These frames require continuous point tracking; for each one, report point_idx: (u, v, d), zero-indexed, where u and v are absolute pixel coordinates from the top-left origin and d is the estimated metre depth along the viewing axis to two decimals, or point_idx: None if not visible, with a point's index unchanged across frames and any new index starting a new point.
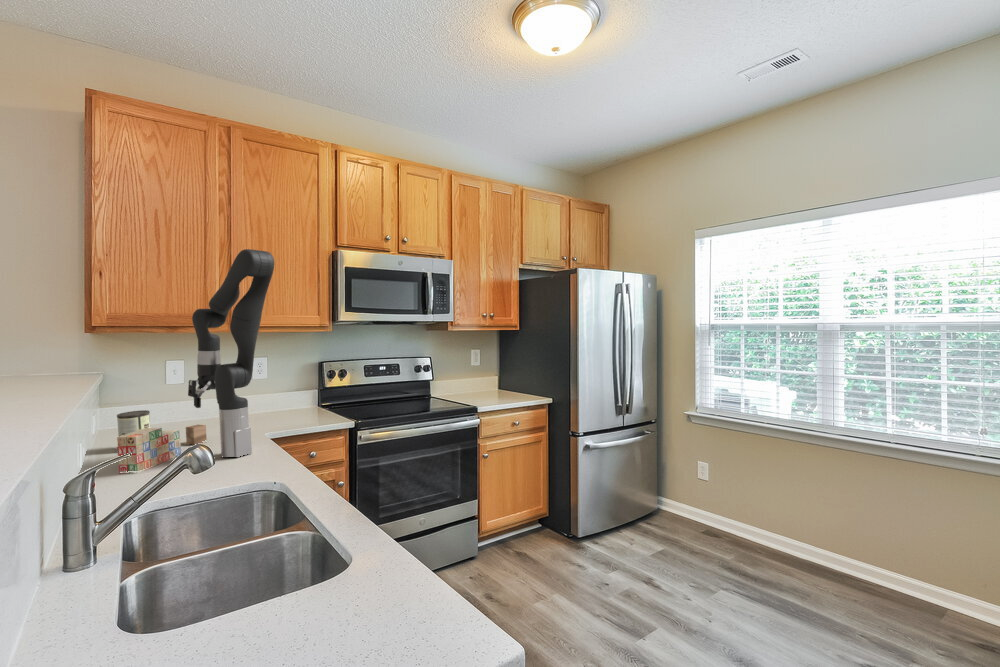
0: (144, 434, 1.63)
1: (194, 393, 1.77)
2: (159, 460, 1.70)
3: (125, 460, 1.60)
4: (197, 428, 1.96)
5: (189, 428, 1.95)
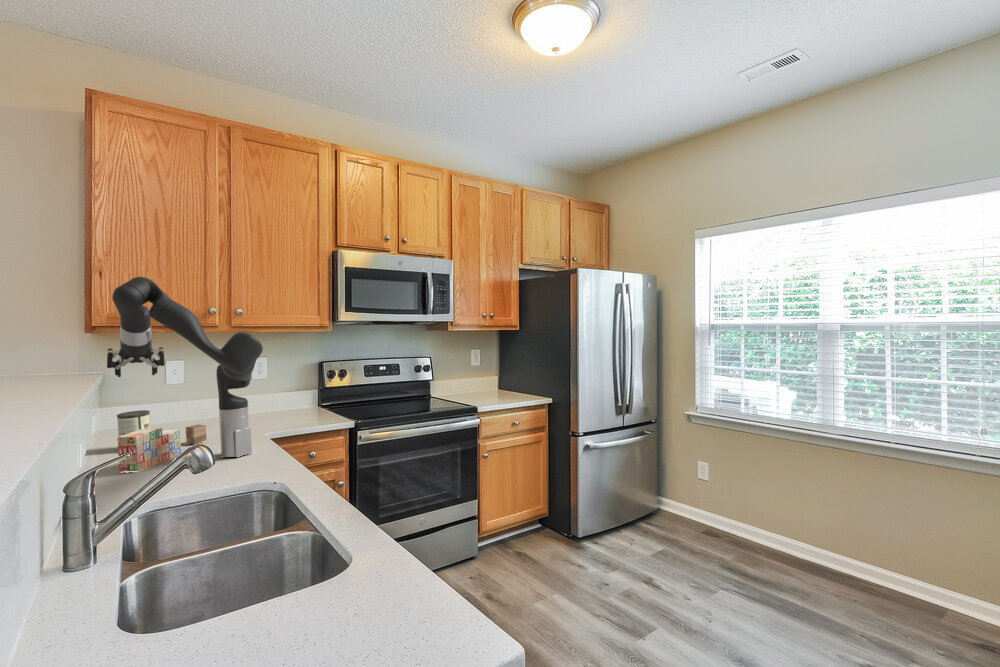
0: (144, 434, 1.64)
1: (110, 365, 1.47)
2: (159, 460, 1.70)
3: (125, 460, 1.60)
4: (197, 428, 1.96)
5: (189, 428, 1.95)
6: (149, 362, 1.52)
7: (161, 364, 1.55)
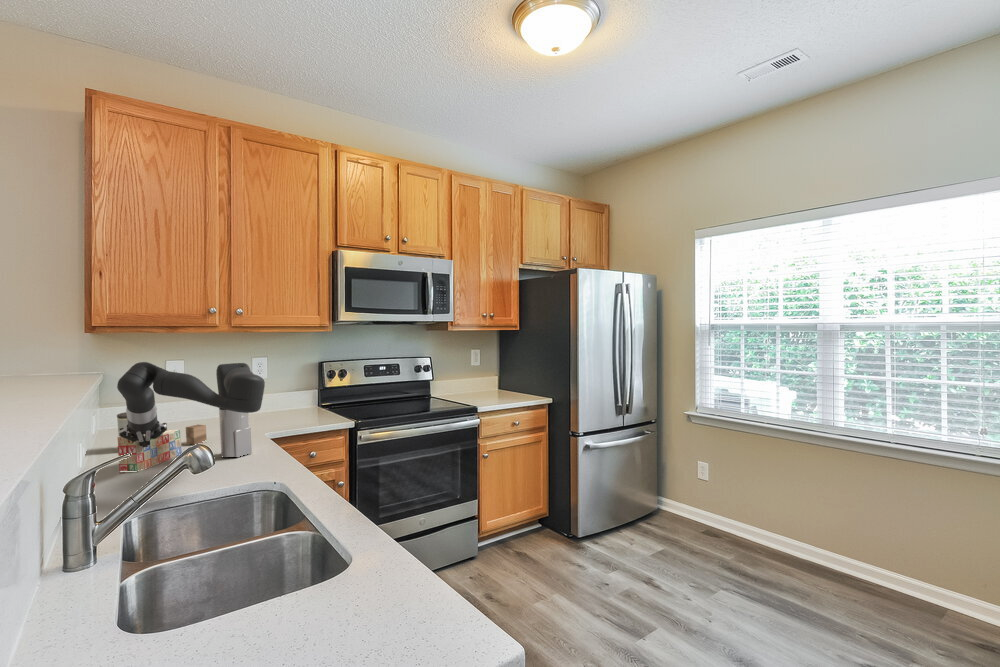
0: (144, 434, 1.64)
1: (135, 439, 1.57)
2: (159, 459, 1.71)
3: (125, 459, 1.61)
4: (197, 428, 1.96)
5: (189, 428, 1.95)
6: (148, 436, 1.58)
7: (153, 437, 1.60)
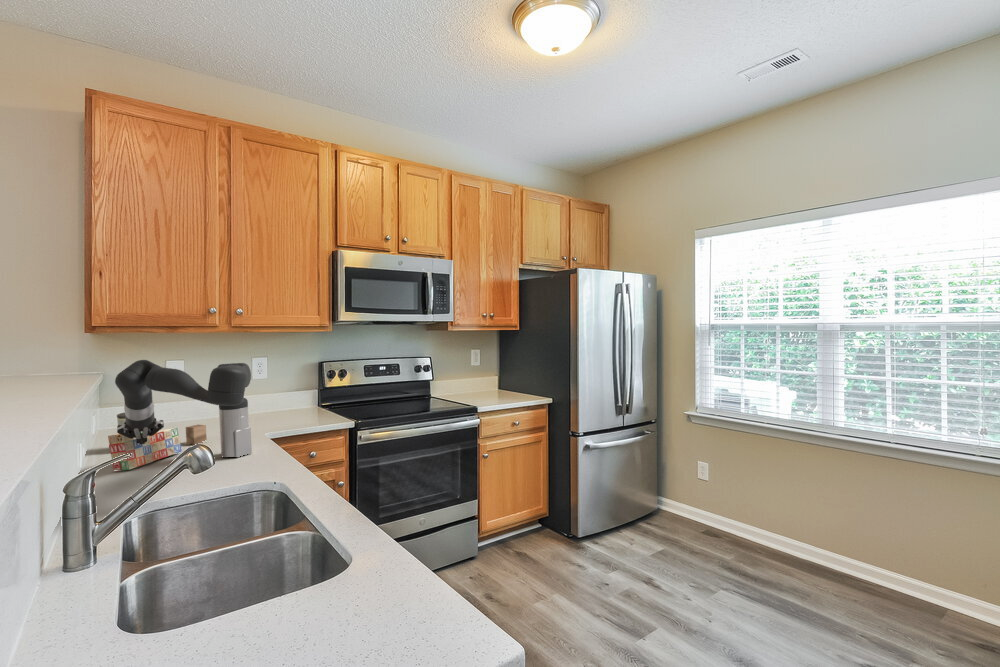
0: None
1: (132, 436, 1.61)
2: (155, 457, 1.71)
3: None
4: (197, 428, 1.96)
5: (189, 428, 1.95)
6: (145, 433, 1.62)
7: (150, 434, 1.64)
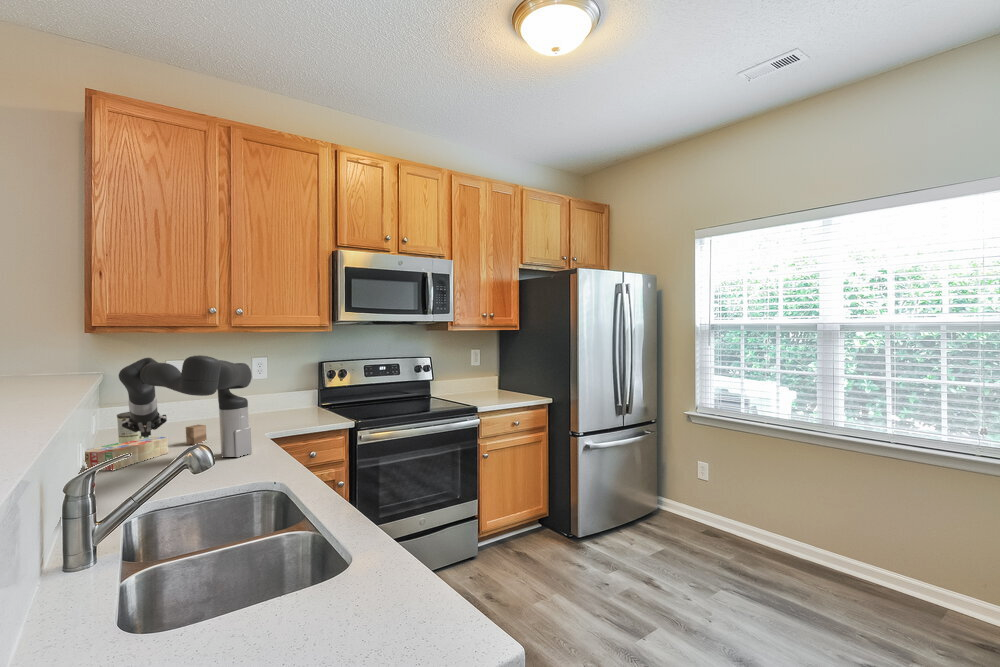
0: (94, 448, 1.69)
1: (136, 429, 1.67)
2: (137, 444, 1.73)
3: None
4: (197, 428, 1.96)
5: (189, 428, 1.95)
6: (149, 426, 1.68)
7: (154, 428, 1.70)
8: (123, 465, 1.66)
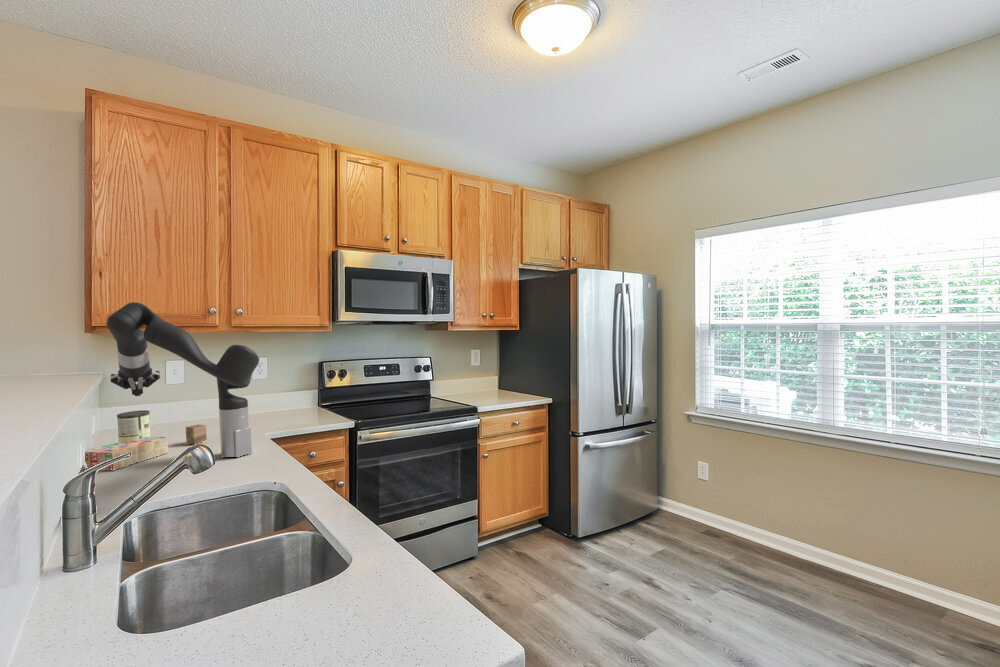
0: (95, 448, 1.69)
1: (126, 386, 1.53)
2: (137, 444, 1.73)
3: None
4: (197, 428, 1.96)
5: (189, 428, 1.95)
6: (141, 383, 1.54)
7: (146, 385, 1.56)
8: (123, 465, 1.66)
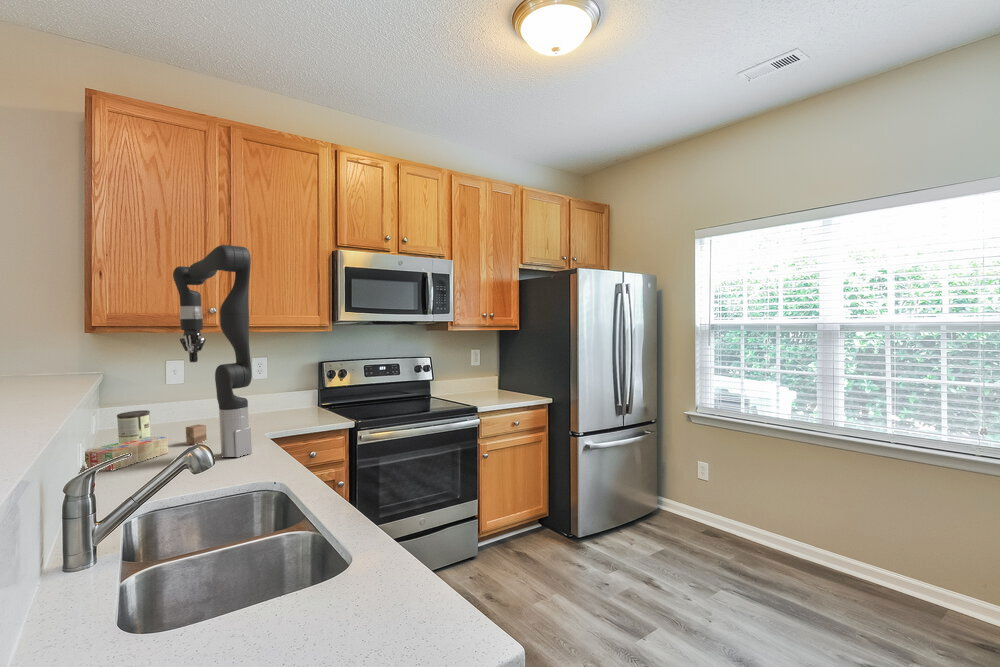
0: (95, 448, 1.69)
1: (186, 347, 1.93)
2: (137, 444, 1.73)
3: None
4: (197, 428, 1.96)
5: (189, 428, 1.95)
6: (190, 344, 1.91)
7: (193, 349, 1.91)
8: (123, 465, 1.66)
